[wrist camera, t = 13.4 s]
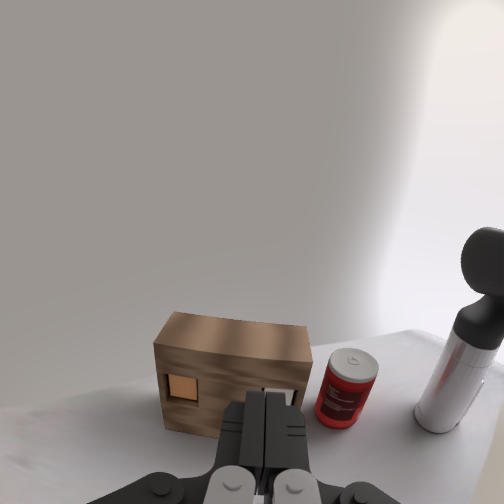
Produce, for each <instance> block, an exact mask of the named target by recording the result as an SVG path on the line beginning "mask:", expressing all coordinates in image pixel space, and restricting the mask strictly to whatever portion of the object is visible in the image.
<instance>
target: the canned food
mask: <svg viewBox="0 0 504 504" xmlns="http://www.w3.org/2000/svg"><path fill="white" fill-rule="evenodd" d="M378 369H379V366H378V363H377V361H376V360H375V359H374V358H373V357H372V356H371V355H370V354H368V353H366V352H364V351H362V350H358V349H353V348H343V349H339V350H336V351H335V352H333V353H332V354H331V356H330V358H329V361H328V365H327V368H326V371H325V375H324V378H323V382H322V385H321V389H320V392H319V395H318V398H317V402H316V405H315V413H316V416H317V418H318V420H319V421H320V422H321V423H322V424H324V425H325V426H328V427H330V428H334V429H343V428H347V427H349V426H351V425H352V424H354V423H355V422H356V420H357V419H358V417H359V415H360V413H361V411H362V409H363V407H364V404H365V402H366V400H367V398H368V395H369V393H370V391H371V388H372V386H373V384H374V381H375V379H376V376H377V373H378Z"/></svg>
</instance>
